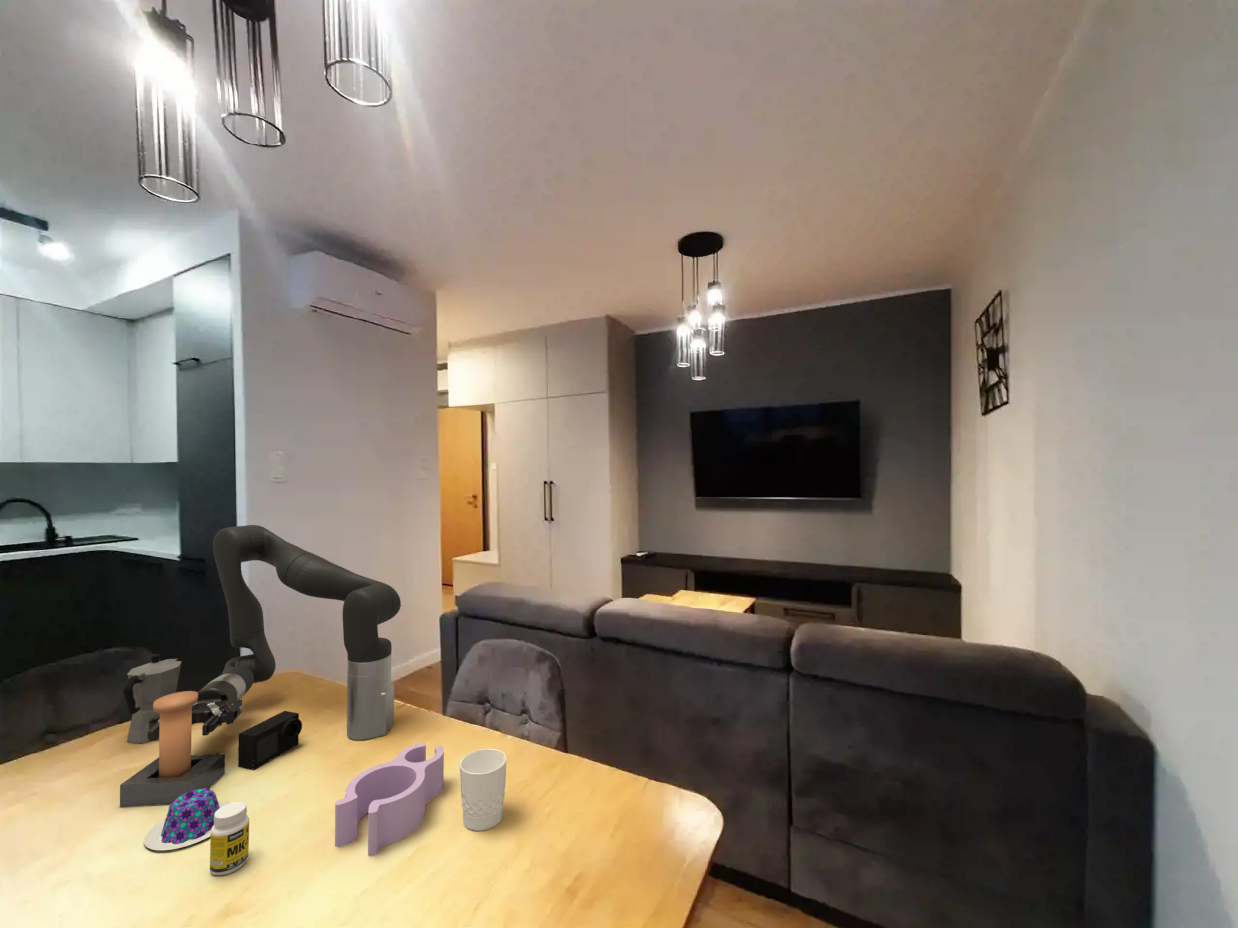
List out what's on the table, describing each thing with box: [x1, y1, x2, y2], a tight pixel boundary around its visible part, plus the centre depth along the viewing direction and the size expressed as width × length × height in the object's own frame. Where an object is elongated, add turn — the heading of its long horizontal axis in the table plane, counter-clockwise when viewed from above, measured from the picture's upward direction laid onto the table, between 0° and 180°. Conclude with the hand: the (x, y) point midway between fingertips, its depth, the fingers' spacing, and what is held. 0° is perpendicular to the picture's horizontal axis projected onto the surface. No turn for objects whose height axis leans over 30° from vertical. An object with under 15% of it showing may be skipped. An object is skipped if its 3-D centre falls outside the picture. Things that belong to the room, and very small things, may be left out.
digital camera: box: [237, 710, 303, 771], centre depth 109 cm, size 10×5×7 cm, turn 163°
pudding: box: [143, 788, 230, 851], centre depth 87 cm, size 12×12×5 cm
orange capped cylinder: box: [153, 690, 198, 778], centre depth 97 cm, size 6×6×17 cm
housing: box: [119, 753, 226, 808], centre depth 97 cm, size 12×9×4 cm
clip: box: [334, 742, 445, 857], centre depth 92 cm, size 20×12×7 cm, turn 163°
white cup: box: [459, 747, 508, 832], centre depth 90 cm, size 8×8×10 cm
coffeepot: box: [122, 653, 182, 745], centre depth 117 cm, size 15×9×18 cm, turn 9°
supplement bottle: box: [209, 801, 250, 876], centre depth 79 cm, size 5×5×8 cm
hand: (178, 733), depth 98 cm, fingers open, 8 cm apart
